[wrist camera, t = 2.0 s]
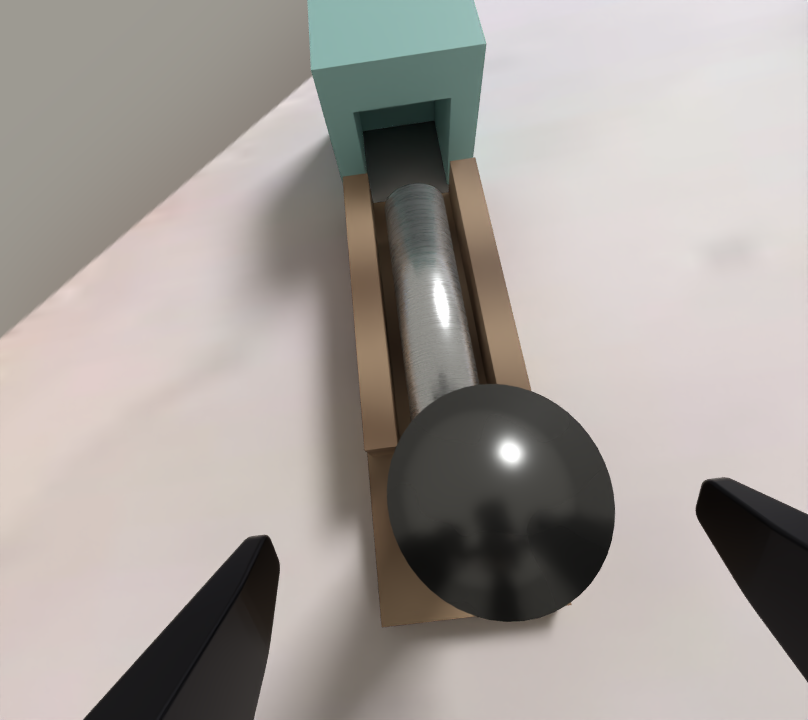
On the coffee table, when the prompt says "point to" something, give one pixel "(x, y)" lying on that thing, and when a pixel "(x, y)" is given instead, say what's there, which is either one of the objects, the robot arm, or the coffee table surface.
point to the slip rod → (482, 451)
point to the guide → (385, 366)
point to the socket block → (397, 72)
